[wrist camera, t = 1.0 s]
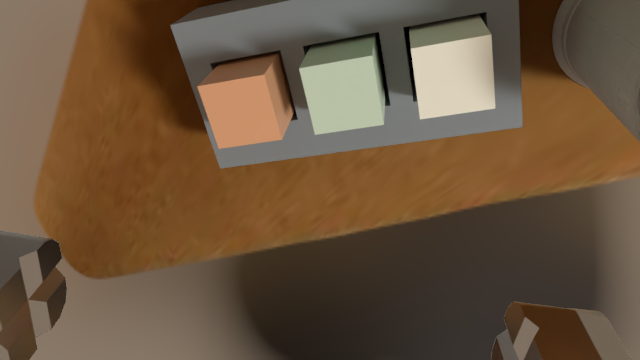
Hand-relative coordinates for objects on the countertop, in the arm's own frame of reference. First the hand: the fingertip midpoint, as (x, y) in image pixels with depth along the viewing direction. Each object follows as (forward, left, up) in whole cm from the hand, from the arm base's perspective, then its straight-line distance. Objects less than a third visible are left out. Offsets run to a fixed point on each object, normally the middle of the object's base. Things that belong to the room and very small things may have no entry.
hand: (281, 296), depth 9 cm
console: (+1, +3, -28) cm, 28 cm away
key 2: (-5, +3, -26) cm, 26 cm away
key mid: (+1, +3, -26) cm, 26 cm away
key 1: (+7, +3, -26) cm, 27 cm away
